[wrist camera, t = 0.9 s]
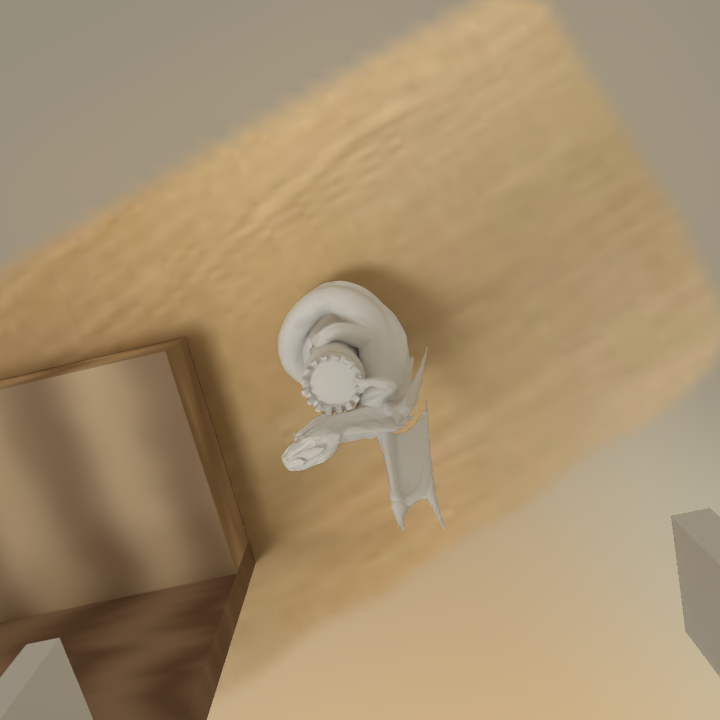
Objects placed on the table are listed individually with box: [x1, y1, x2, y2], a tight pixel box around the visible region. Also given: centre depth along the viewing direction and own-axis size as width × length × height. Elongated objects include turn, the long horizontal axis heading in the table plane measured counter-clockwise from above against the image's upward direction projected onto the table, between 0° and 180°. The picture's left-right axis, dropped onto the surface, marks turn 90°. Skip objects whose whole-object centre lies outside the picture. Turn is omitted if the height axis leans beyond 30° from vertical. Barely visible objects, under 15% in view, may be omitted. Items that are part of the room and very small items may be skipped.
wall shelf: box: [0, 337, 255, 720], centre depth 29 cm, size 15×15×16 cm
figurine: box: [277, 281, 445, 531], centre depth 29 cm, size 11×8×12 cm
